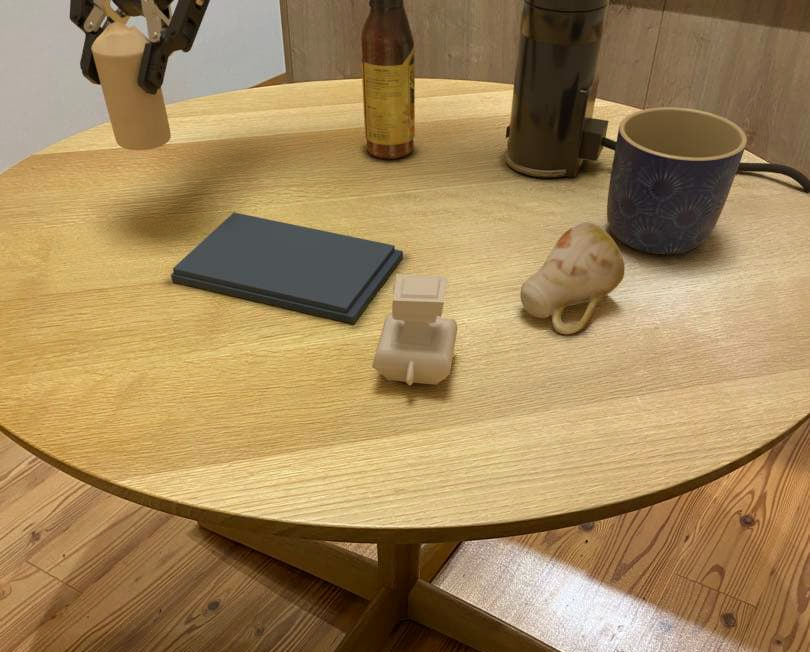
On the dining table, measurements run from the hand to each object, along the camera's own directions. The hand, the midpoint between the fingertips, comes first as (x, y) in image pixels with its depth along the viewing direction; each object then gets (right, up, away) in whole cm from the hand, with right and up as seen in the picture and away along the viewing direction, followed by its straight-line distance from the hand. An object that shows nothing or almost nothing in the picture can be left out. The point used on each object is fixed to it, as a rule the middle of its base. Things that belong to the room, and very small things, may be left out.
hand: (119, 84), depth 75 cm
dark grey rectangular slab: (+15, -15, +7) cm, 23 cm away
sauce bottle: (+25, +6, +25) cm, 36 cm away
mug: (+43, -20, +3) cm, 48 cm away
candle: (+1, -3, +6) cm, 6 cm away
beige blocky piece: (+28, -28, -4) cm, 40 cm away
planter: (+55, -10, +12) cm, 57 cm away
